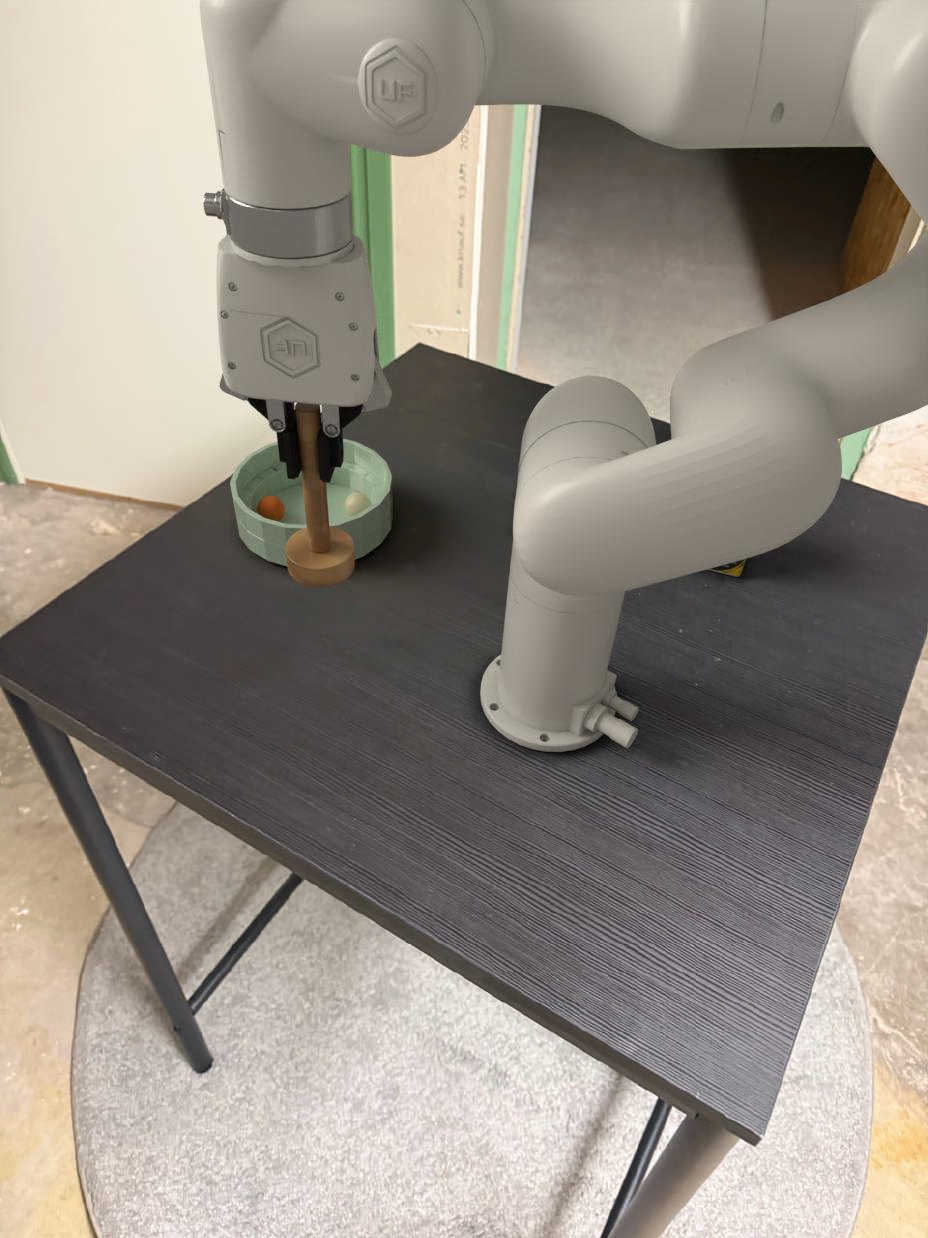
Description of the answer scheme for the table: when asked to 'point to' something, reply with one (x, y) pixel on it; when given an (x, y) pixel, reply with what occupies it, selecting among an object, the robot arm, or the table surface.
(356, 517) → the bowl
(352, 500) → the bead cream
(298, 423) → the wooden mushroom stand
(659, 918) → the table surface
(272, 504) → the bead orange
